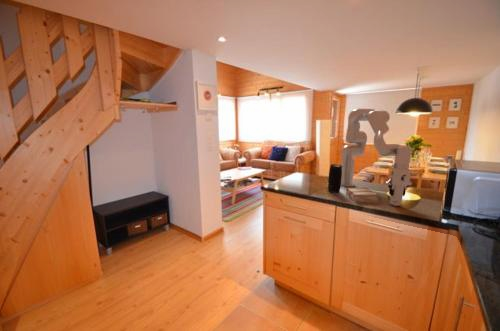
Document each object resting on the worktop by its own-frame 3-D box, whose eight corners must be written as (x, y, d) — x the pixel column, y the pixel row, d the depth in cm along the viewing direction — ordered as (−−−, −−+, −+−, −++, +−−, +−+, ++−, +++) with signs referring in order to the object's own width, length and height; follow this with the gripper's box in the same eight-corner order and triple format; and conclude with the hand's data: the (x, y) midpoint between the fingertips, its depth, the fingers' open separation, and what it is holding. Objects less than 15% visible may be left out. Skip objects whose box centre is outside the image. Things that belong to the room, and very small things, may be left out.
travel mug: (395, 207, 136) (401, 175, 132) (386, 203, 142) (391, 172, 138) (403, 206, 138) (409, 174, 133) (394, 202, 144) (399, 172, 140)
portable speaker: (332, 194, 158) (335, 166, 154) (324, 189, 167) (326, 164, 163) (343, 193, 161) (345, 166, 156) (334, 188, 170) (337, 163, 165)
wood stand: (345, 194, 157) (346, 187, 156) (365, 194, 157) (366, 188, 156) (355, 202, 144) (356, 194, 142) (377, 202, 144) (378, 195, 143)
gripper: (390, 167, 131) (386, 197, 135) (420, 168, 131) (415, 197, 135) (383, 165, 138) (379, 192, 142) (411, 165, 138) (406, 193, 142)
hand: (396, 194), depth 138 cm, fingers closed on travel mug, 6 cm apart
